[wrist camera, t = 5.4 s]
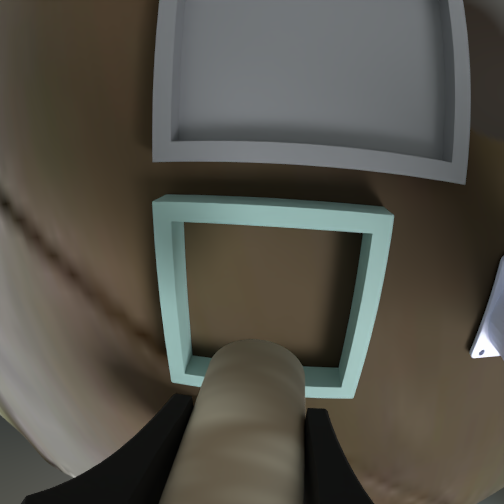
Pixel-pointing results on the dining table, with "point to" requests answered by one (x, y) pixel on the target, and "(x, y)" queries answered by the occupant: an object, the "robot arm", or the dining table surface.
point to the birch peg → (244, 431)
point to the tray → (314, 84)
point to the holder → (275, 215)
